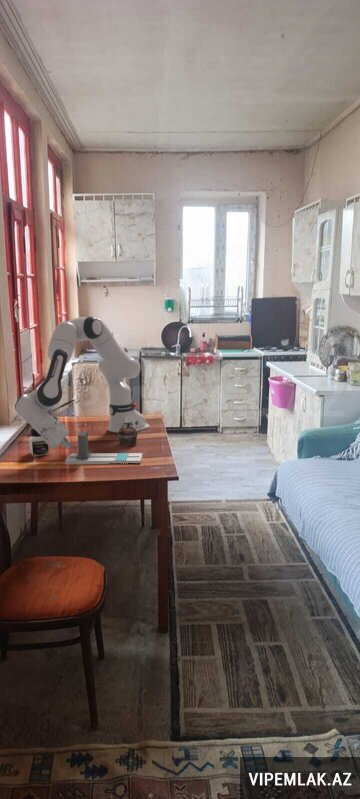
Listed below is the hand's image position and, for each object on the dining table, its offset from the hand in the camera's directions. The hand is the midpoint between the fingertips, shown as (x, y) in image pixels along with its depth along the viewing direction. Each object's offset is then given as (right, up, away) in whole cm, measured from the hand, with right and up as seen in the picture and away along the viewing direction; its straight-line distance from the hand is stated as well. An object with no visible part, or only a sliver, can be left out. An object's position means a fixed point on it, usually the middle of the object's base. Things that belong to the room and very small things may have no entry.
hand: (70, 447), depth 214 cm
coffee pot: (-19, +5, +54) cm, 58 cm away
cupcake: (+22, -1, +26) cm, 34 cm away
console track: (+15, -6, +1) cm, 16 cm away
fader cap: (+6, -4, +1) cm, 7 cm away
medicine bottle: (-17, -4, +11) cm, 20 cm away
